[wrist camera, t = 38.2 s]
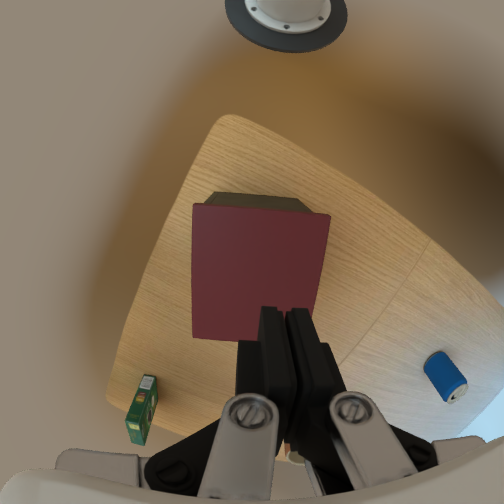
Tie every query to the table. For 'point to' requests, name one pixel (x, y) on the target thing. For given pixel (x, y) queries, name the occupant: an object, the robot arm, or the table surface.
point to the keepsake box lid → (252, 266)
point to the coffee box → (142, 410)
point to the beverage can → (446, 377)
